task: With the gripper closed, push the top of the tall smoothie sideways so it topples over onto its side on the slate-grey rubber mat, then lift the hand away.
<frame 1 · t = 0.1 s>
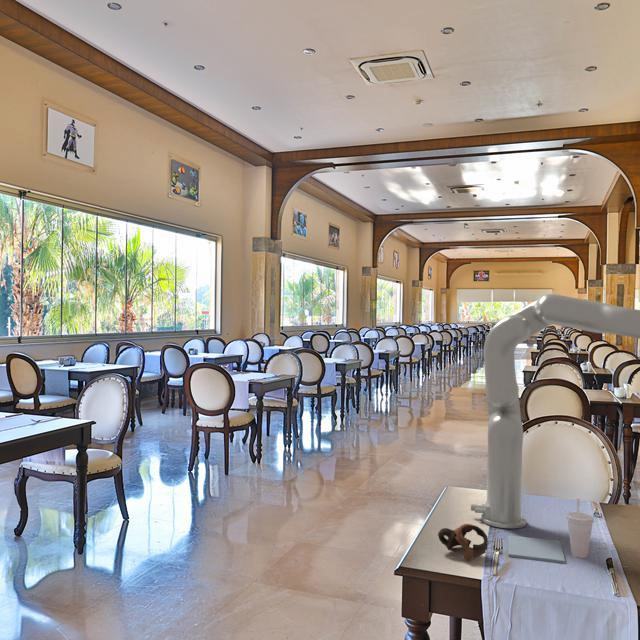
brown twisted looped piece: (462, 554, 151), on the table
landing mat: (534, 549, 154), on the table
smoothie: (579, 555, 151), on the table
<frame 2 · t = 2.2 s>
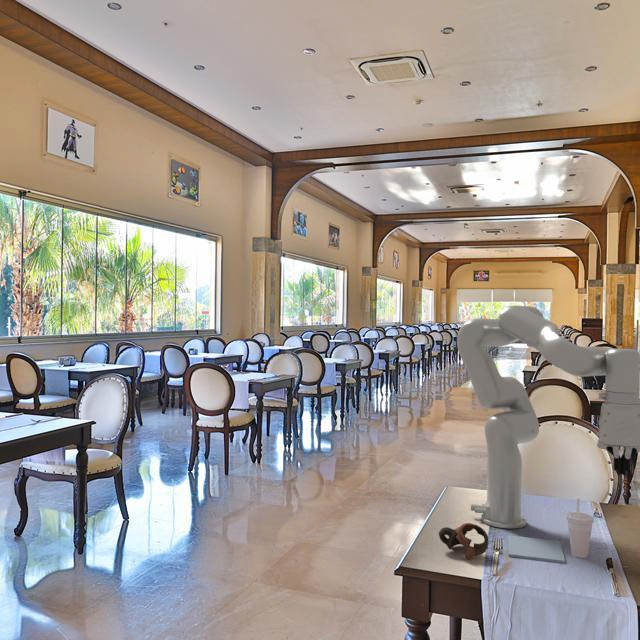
hand: (620, 473, 149), 21 cm above the table, fingers closed
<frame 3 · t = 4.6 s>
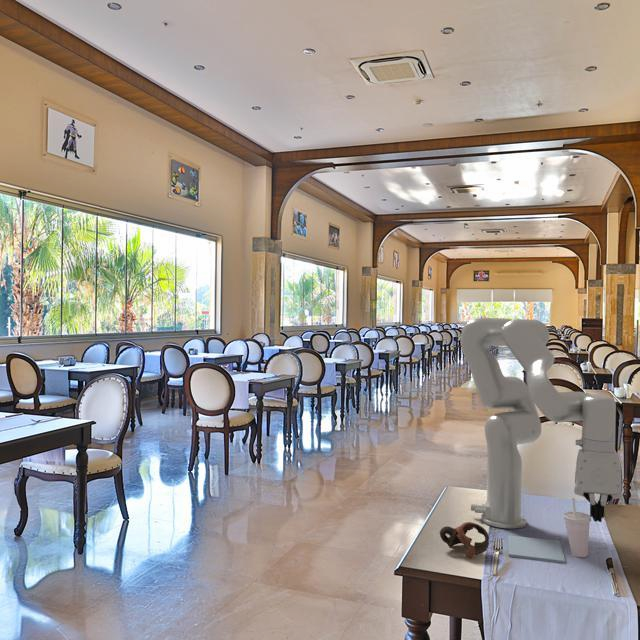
hand: (596, 519, 150), 9 cm above the table, fingers closed
smoothie: (579, 555, 151), on the table, touching gripper
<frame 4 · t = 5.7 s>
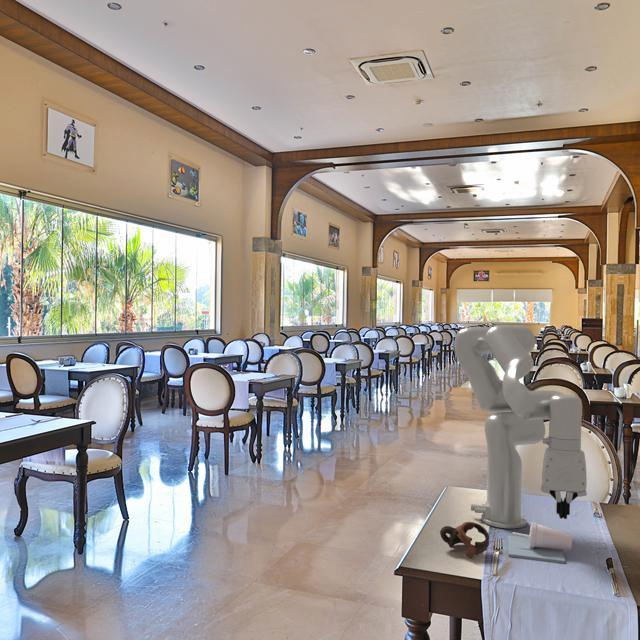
hand: (562, 517, 153), 9 cm above the table, fingers closed
smoothie: (572, 542, 152), point 3 cm above the table, touching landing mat
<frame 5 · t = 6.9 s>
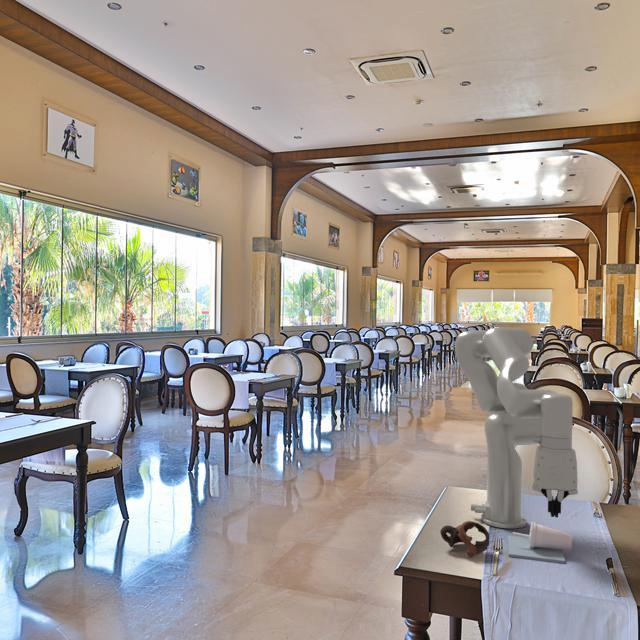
hand: (554, 515, 153), 9 cm above the table, fingers closed
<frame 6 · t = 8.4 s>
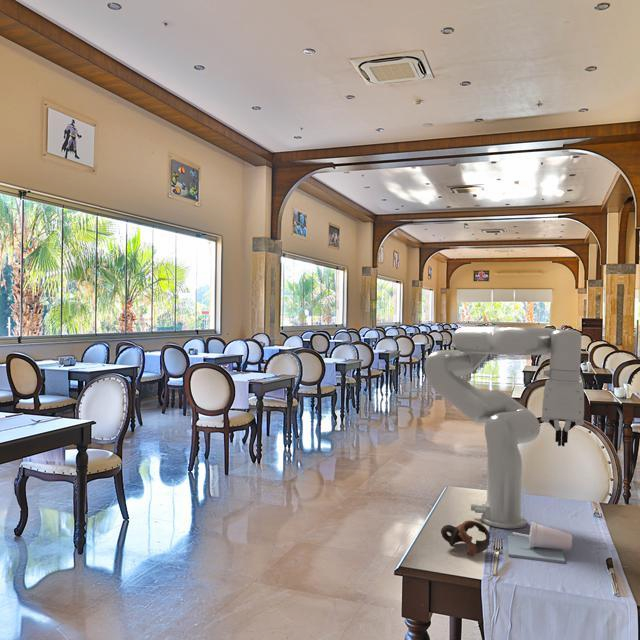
hand: (561, 445, 161), 25 cm above the table, fingers closed
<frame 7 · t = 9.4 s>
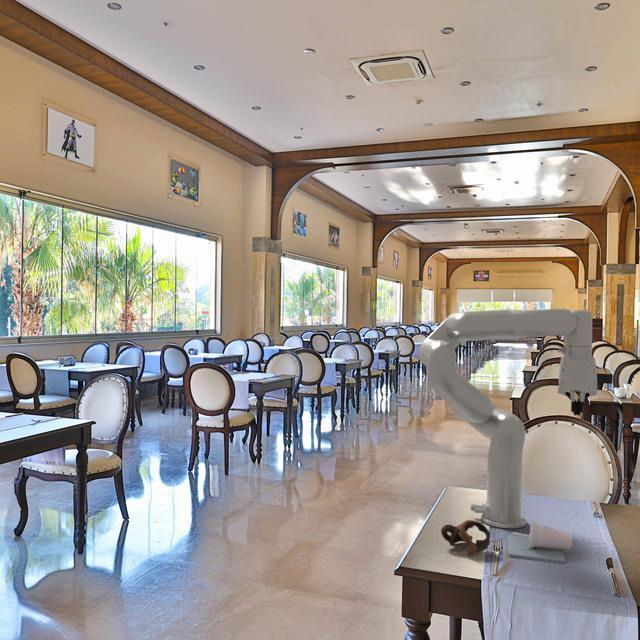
hand: (576, 414, 178), 31 cm above the table, fingers closed
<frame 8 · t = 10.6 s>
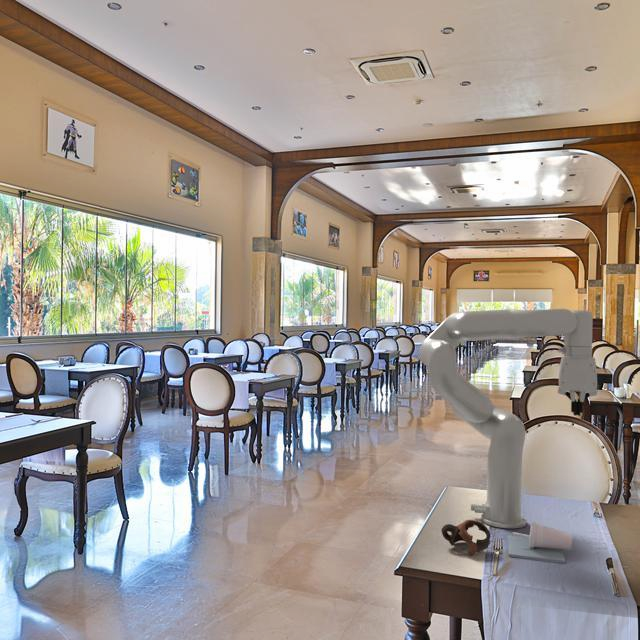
hand: (576, 414, 178), 31 cm above the table, fingers closed
at the end: smoothie tilted 86°; smoothie touching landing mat; the gripper is holding nothing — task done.
